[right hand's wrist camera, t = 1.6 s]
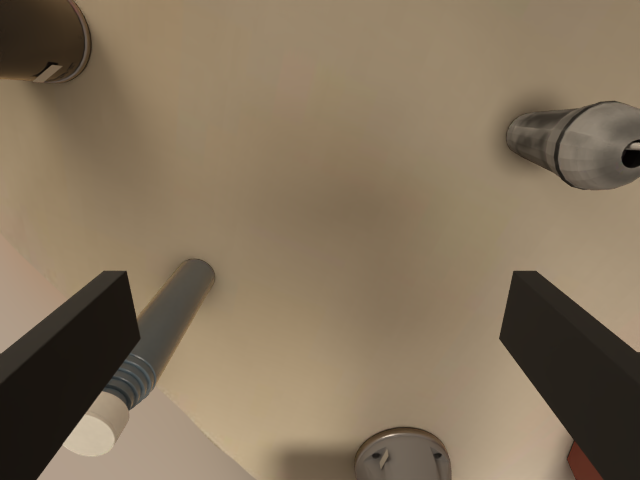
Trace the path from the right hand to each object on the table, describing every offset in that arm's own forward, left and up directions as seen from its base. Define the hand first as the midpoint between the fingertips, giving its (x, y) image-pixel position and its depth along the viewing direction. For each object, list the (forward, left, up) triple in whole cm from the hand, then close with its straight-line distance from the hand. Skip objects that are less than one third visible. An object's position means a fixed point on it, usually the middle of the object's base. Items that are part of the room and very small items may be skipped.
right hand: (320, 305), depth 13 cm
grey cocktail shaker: (+3, -23, -32) cm, 40 cm away
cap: (-15, +16, -8) cm, 24 cm away
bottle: (-15, +16, -32) cm, 39 cm away
